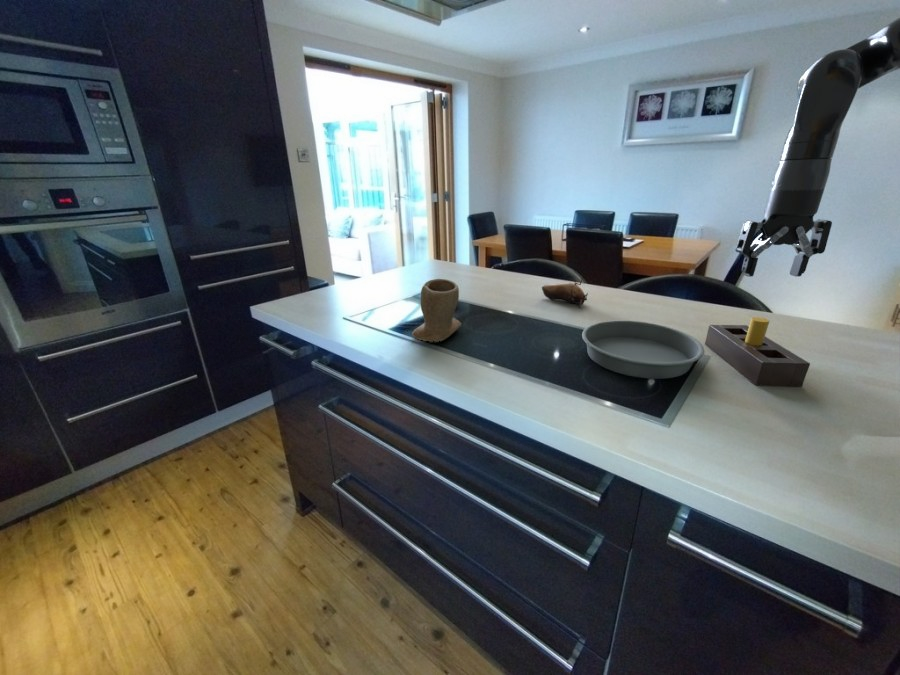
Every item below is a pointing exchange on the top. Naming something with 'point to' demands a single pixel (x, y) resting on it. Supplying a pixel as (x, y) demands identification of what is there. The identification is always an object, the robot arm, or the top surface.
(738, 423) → the top surface
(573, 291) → the vegetable
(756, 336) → the peg
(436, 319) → the stone cup
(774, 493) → the top surface
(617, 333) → the cake pan
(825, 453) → the top surface
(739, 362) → the stand
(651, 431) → the top surface
